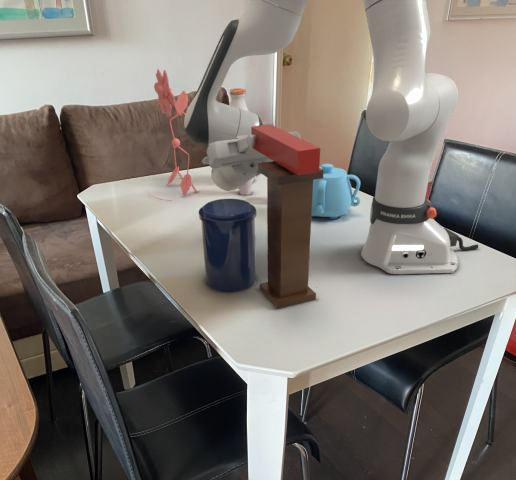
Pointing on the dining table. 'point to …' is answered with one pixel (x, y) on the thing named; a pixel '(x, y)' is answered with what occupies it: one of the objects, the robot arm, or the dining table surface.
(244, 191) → the smoothie
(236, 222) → the pot
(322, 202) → the decorative pot
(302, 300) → the stand
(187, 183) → the figurine
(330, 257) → the dining table surface
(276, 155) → the red rectangular block
